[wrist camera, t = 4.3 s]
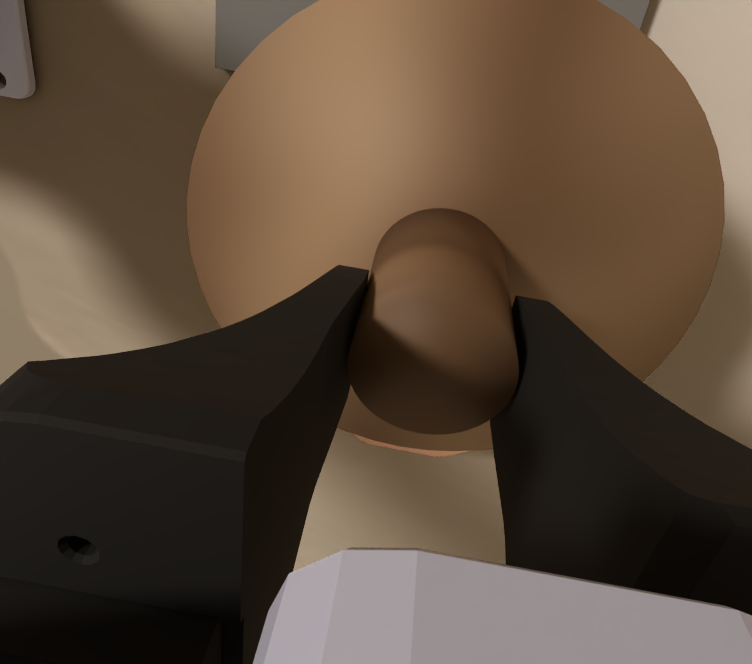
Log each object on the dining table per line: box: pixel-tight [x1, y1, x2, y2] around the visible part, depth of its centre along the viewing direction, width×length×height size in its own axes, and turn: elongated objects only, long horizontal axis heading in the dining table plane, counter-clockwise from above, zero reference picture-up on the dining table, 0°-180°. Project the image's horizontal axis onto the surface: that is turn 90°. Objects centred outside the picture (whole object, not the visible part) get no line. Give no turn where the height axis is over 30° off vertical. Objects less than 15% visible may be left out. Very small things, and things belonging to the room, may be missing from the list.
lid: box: [187, 0, 724, 451], centre depth 11 cm, size 11×11×4 cm
